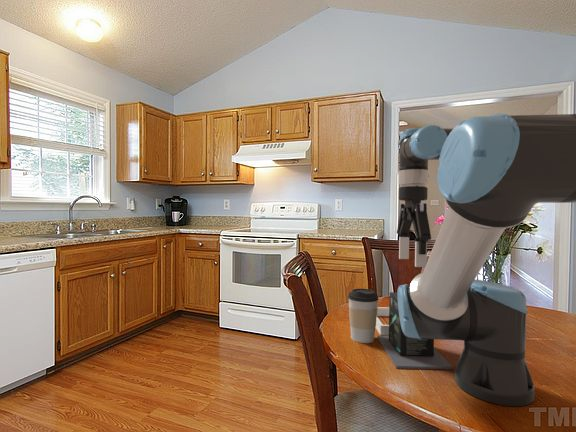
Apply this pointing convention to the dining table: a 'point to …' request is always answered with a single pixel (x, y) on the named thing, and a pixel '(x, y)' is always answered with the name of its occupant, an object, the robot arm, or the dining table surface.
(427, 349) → the tampon box
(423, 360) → the thin grey tile
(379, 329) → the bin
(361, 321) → the coffee cup
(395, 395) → the dining table surface
